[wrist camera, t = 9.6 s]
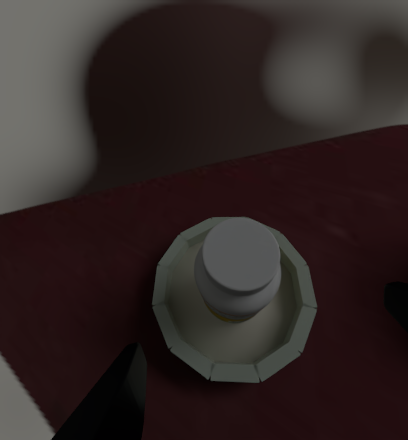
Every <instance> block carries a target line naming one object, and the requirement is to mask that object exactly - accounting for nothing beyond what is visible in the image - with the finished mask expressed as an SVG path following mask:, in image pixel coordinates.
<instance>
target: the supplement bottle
mask: <svg viewBox="0 0 408 440" xmlns="http://www.w3.org/2000/svg"><path fill="white" fill-rule="evenodd" d="M194 276H195V281H196V284H197V287H198V289H199V292H200V294H201V296H202V298H203V300H204V303H205V305H206V306H207V308H208V309H209V311H210V312H211V313H212V314H213V315H214V316H215V317H217V318H218V319H220V320H222V321H224V322H228V323H241V322H245V321H247V320H249V319H251V318H253V317H254V316H255V315H256V314H257V313H259V312H260V311H261V310H262V309H263V308H265V307H266V306H267V305H268V304H269V303H270V302H271V300H272V299H273V298H274V296H275V295H276V293H277V291H278V288H279V285H280V281H281V266H280V249H279V245H278V243H277V241H276V239H275V237H274V236H273V234H272V233H271V232H270V231H269V230H268V229H267V228H266V227H265V226H263V225H262V224H260V223H258V222H256V221H254V220H251V219H246V218H232V219H228V220H225V221H222V222H220V223H218V224H217V225H216V226H214V227H213V228H212V229H211V230H210V231H209V233H208V234H207V236H206V237H205V239H204V242H203V245H202V246H201V248H200V249H199V251H198V253H197V256H196V259H195V263H194Z"/></svg>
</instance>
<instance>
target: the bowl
mask: <svg viewBox="0 0 408 440" xmlns="http://www.w3.org/2000/svg"><path fill="white" fill-rule="evenodd" d="M232 218H246V217H213V218H212V220H211V218H209V219H207V220H205V221H203V222H201V223H199V224H197V225H196V226H194V227H192V228H190V229H188V230H186V231H184V232H182V233H180V234H181V236H180V235H178V236H177V238H176V239H175V241H174V242H173V243H172V245H171V246H170V248H169V249H168V250H167V252H166V253H165V255H164V256H163V257H162V259H161V260H160V262H159V263H158V264H159V266H157V271H156V278H155V286H154V293H153V301H152V305H153V307H152V308H153V310H154V313H155V316H156V318H157V321H158V323H159V326H160V328H161V331H162V333H163V336H164V339H165V341H166V344H167V346H168V349H170V348H171V350H170V351H171V352H172V353H174V354H175V355H176V356H178V357H179V358H180V359H182V360H183V361H184V362H185V363H187V364H188V365H189V366H191V367H192V368H193V369H195V370H196V371H197V372H199V373H200V374H201V375H203V376H204V377H205V378H207V379H209V377H210V375H211V381H228V382H252V383H259V380H260V381H261V382H263V381H264V380H266V379H267V378H268V377H270V376H271V375H273V374H274V373H276V372H277V371H278V370H280V369H281V368H283V367H284V366H285V365H287V364H288V363H290V362H291V361H293V360H294V359H295V358H297V357H298V356H300V353H302V352H303V349H304V346H305V343H306V340H307V337H308V334H309V332H310V329H311V326H312V323H313V320H314V317H315V314H316V311H317V309H315V308H317V304H316V300H315V295H314V291H313V286H312V281H311V277H310V272H309V268H308V266H305V265H306V264H307V263H306V262H305V261H304V259H303V258H302V257H301V256H300V255H299V253H298V252H297V251H296V250H295V248H294V247H293V246H292V245H291V244H290V242H289V241H288V240H287V239H286V238H285V236H284V235H283V234H280V232H279V231H277V230H274V229H272V228H270V227H268V226H266V225H263V224H262V225H263V226H265V227H266V228H267V229H268V230H269V231H270V232H271V233H272V234H273V236H274V237H275V239H276V241H277V243H278V245H279V249H280V266H281V281H280V285H279V288H278V291H277V293H276V295H275V296H274V298H273V299H272V300H271V302H270V303H269V304H268V305H267V306H266V307H265V308H263V309H262V310H261V311H260V312H259V313H257V314H256V315H255V316H254V317H253V318H251V319H249V320H247V321H245V322H241V323H228V322H224V321H222V320H220V319H218V318H217V317H215V316H214V315H213V314H212V313H211V312H210V311H209V309H208V308H207V306H206V305H205V303H204V300H203V298H202V296H201V294H200V292H199V289H198V287H197V284H196V281H195V276H194V263H195V259H196V256H197V253H198V251H199V249H200V248H201V246H202V245H203V242H204V239H205V237H206V236H207V234H208V233H209V231H210V230H211V229H212V228H213V227H214V226H216V225H217V224H218V223H220V222H222V221H225V220H228V219H232ZM247 219H250V218H247ZM251 220H252V219H251ZM254 221H255V220H254ZM256 222H257V221H256ZM258 223H259V222H258ZM260 224H261V223H260ZM279 234H280V235H279ZM299 352H300V353H299Z"/></svg>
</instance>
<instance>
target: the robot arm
mask: <svg viewBox="0 0 408 440" xmlns="http://www.w3.org/2000/svg"><path fill="white" fill-rule="evenodd" d="M384 306H385V308H386V309H387V311H388V312H389V313H390V314H391V315H392V316H393V317H394V318H395V319H396V320H397V322H398V323H399V324H400V325H401V326H402V327H403V328H404V329H405V330H406V331H407V332H408V284H406V283H402V282H392V283H388V284H386V285H385V287H384ZM146 375H147V362H146V358H145V355H144V353H143V350H142V347H141V345H140V343H133V344H129V345H127V346H126V347H125V348H124V350H123V351H122V352H121V353H120V355H119V356H118V357H117V358H116V359H115V361H114V362H113V363H112V364H111V366H110V367H109V368H108V369H107V371H106V372H105V373H104V374H103V376H102V377H101V378H100V379H99V381H98V382H97V383H96V384H95V386H94V387H93V388H92V389H91V391H90V392H89V393H88V394H87V396H86V397H85V398H84V399H83V401H82V402H81V403H80V404H79V406H78V407H77V408H76V409H75V411H74V412H73V413H72V414H71V416H70V417H69V418H68V419H67V421H66V422H65V423H64V424H63V425H62V427H61V428H60V429H59V430H58V432H57V433H56V434H55V435H54V437H53V438H52V440H141V438H142V431H143V423H144V411H145V393H146Z"/></svg>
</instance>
